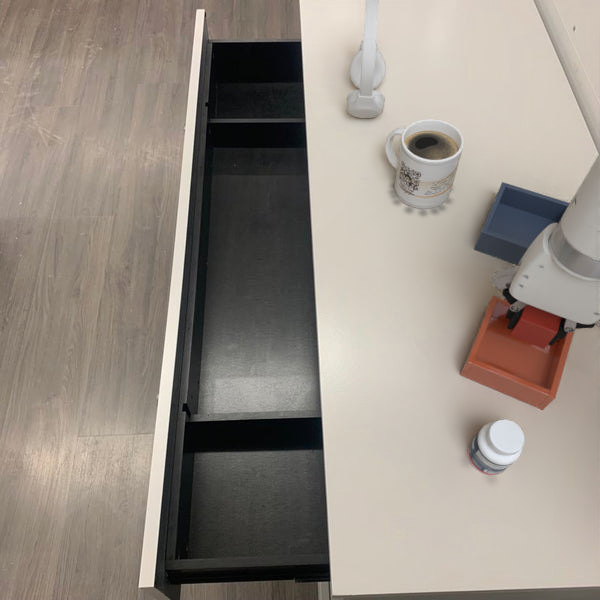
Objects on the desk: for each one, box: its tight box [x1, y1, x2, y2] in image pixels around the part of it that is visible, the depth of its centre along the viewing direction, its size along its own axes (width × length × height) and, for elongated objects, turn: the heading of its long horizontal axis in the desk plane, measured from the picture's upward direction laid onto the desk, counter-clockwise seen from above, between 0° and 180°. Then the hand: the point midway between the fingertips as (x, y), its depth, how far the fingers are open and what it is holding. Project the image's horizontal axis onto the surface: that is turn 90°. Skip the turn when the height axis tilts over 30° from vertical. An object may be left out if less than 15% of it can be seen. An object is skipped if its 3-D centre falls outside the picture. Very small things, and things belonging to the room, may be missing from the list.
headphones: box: [346, 0, 387, 119], centre depth 97 cm, size 7×18×20 cm, turn 174°
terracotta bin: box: [459, 295, 575, 411], centre depth 74 cm, size 12×12×5 cm
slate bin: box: [473, 181, 570, 266], centre depth 85 cm, size 12×12×5 cm
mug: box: [384, 118, 465, 210], centre depth 89 cm, size 10×12×11 cm
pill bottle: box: [467, 418, 526, 476], centre depth 65 cm, size 5×5×9 cm
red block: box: [510, 304, 562, 349], centre depth 67 cm, size 4×4×4 cm
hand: (532, 327), depth 68 cm, fingers closed on red block, 4 cm apart
